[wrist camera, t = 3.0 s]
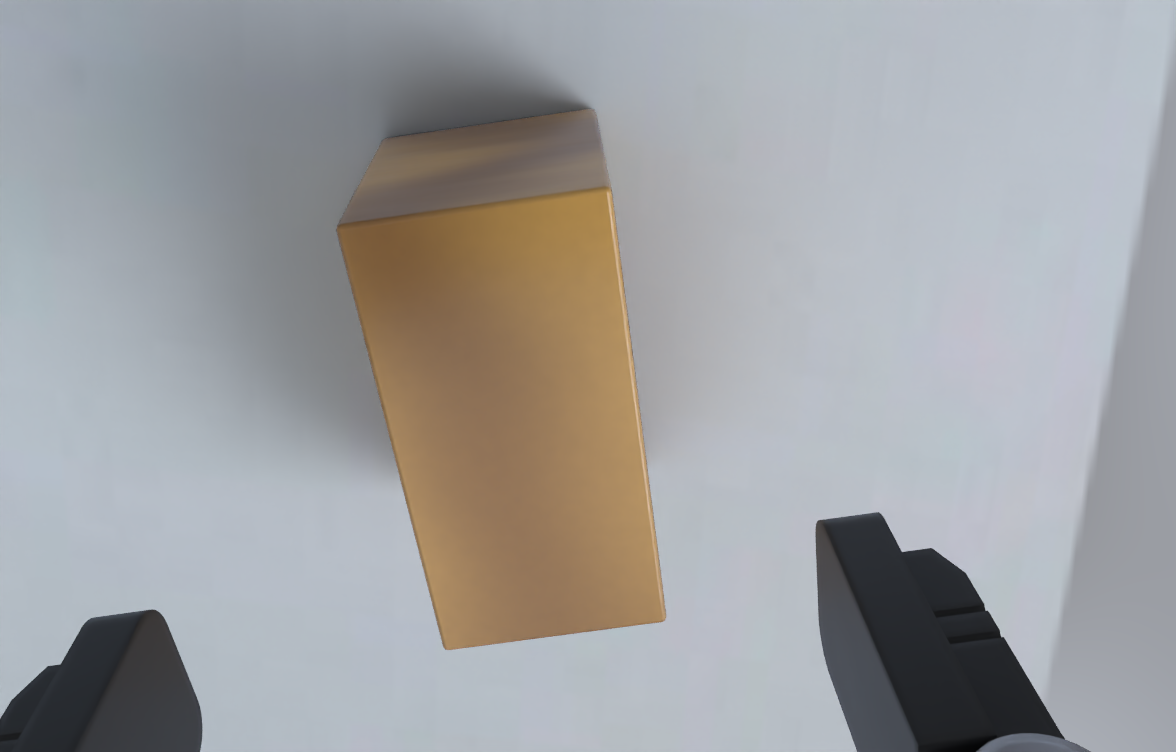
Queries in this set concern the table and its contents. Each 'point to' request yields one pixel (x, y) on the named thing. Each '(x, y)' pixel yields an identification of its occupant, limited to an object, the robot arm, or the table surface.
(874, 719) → the robot arm
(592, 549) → the honey block
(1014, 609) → the table surface
